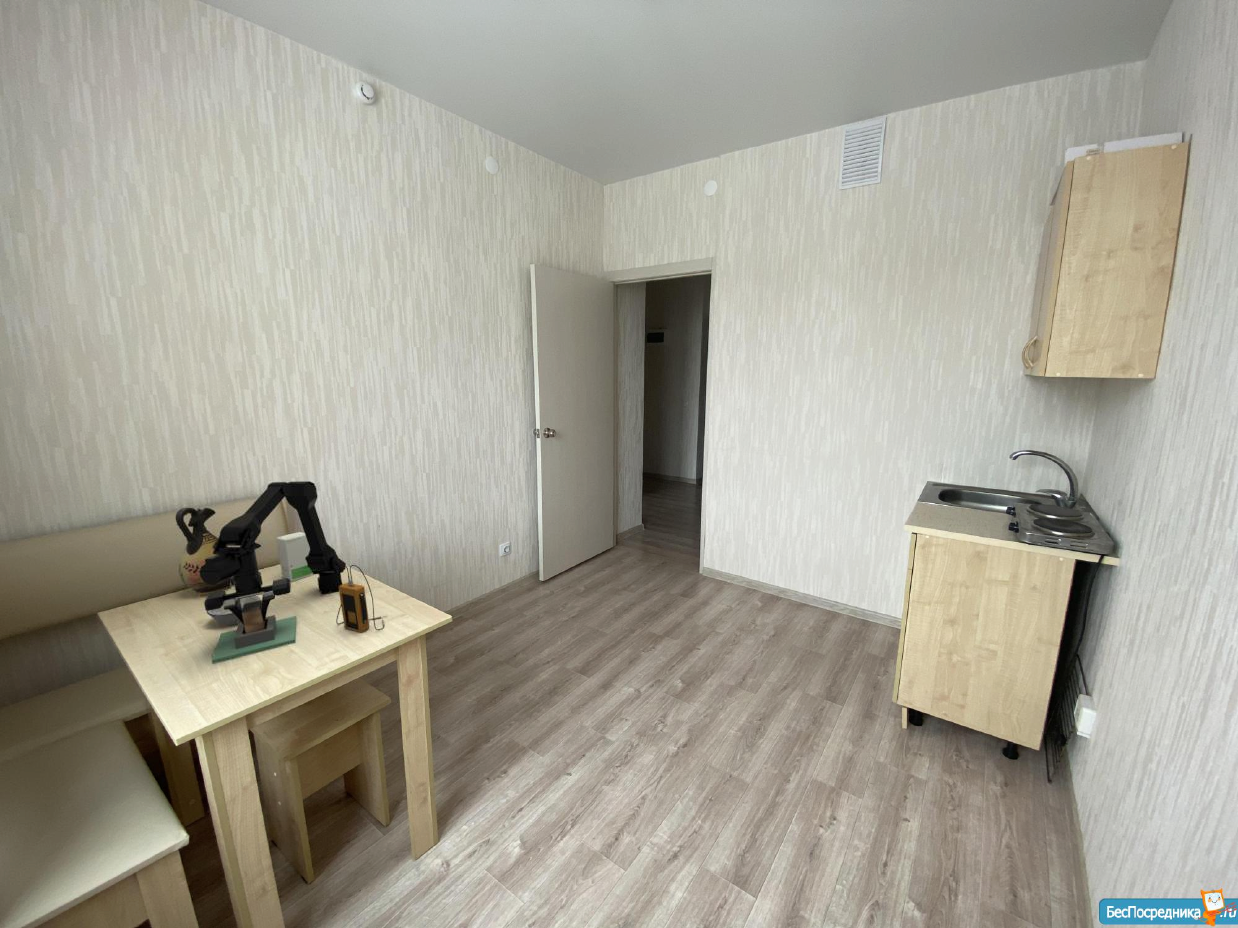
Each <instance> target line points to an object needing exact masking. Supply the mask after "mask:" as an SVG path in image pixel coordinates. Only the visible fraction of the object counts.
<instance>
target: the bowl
mask: <svg viewBox="0 0 1238 928" xmlns="http://www.w3.org/2000/svg"><path fill="white" fill-rule="evenodd" d="M259 600H261V601H262V598H261V597H259V595H256V596H251V597H246V598H242V599H240V603H241V607H242V609H243V605H244V604H245V603H250V602H255V601H259ZM206 614H207V615H209V616H210V617H211V618H212V619H213V620H214V621H216V622H217V623H219V624H220V625H222V626H230V625H231V626H232V625H237V624H238V623H241V621H240V620H239V619H238V618H237V616H236V615H235V614H233V613H232V612H231V611H230V610H224V604H223V606H222V607H221V608H219V609H214V610H209V611H206Z"/></svg>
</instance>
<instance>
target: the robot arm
mask: <svg viewBox="0 0 1238 928" xmlns="http://www.w3.org/2000/svg"><path fill="white" fill-rule="evenodd" d="M284 498H285V499H286V501H287V503H288V504H289V506H291V507H292V508H294V509H295V510H296V512H297V515H298V519H299V521H300V525H301V527H302V530H303V533H305V536H306V539H307V542H308V544H309V547H310V551H309V554H308V556H306V557H305V560H306V561H307V565H308V567H309V568H310V569H311V571H312V573H313V574H314V575H318V577H317V585H318V591H319V592H320V594H321V595H326V594H331V593H335V592H336V593H337V592H339V586H340V584H341V585H343V584H344V583H343V582H342V581H343V580H342V573H344V571H345V570H346V569H347V568H346V567H345V566H344V565H343V564H345V565H346V564H347V563H346V562H345V561H344V560H342V559H341V558H339V556H338V554H337V551H336V549H334V548H333V547H332V546H331V545H329V544H328V542H327V540H326V539H327V538H326V537H325V533H324V530H323V527H322V525H321V521H320V517H319V515H318V512H317V509H316V502H317V500H318V492H317V485H316V484H315V483H314V482H312V481H309V480H308V481H306V480H305V481H303V480H302V481H301V480H300V481H298V480H297V481H288V482H286V481H273V482H270V483H268V485H267V488H266V489H265V490H264V492H262V494H261V495H260V496H259V497H257V499H256V500H255V501H254V502H253V504H252V505H251V506H250V507H248V509H247V510H246V511H245V512H244V513H243V514H242V515H240V516H237V517H236V518H233V519H232V520H230V521H229V522H227V524H225V525H224V526H223V527H222V528H221V529H220V531H219V536H218V537H217V538H218V541H217V543H216V546H215V548H214V551H213V554H218V555H215V556H213V557H209V558H206V559H205V564H204V565H203V566H202V567H201V569H200V572H199V573H200V577H201V579H202V580H203V581H204V582H205V583H207V584H209V585H216V584H218V583H220V582H222V581H224V580H226V579H228V578H230V582H231V583H230V585H231V586H234V589H235V590H234V591H235V592H231V593H227V592H226V590H223V591H220V592H215V593H210V594H207V596H206V598H204V599H205V600H204V603H203V604H204V609H205V611H206V612H207V611H209V610H214V609H219V608H221V607H222V606H223V604H224V610H230V611H231V612H232V613H233V614H235V615H236V616H237V618H238V619H239V620H240V621H241V622H242V624H243V625H244V621H243V616H242V607H241V603H240V599H242V598H246V597H251V596H259V595H262V597H261V601H262V617H263V621H265V618H266V617H267V614H268V613H267V612H268V608H269V605H270V603H271V601H273V600H275V599H276V597H278V596H283V595H289V594H290V593H291V589H292V585H291V584H292V583H291V582H290V579H288V578H284V579H283V578H280V579H276V580H275V579H274V580H273V581H272V583H271V584H270V585H265V586H263V583H264V582H263V577H262V574H261V573H262V572H260V571H259V566H258V564H259V563H258V559H257V555H256V554H257V553H256V550H257V549H259V548H261V547H262V545H261V544H259V543H257V542H256V541H257V539H258V538H259V535H260V534H261V532H262V525H263V523H264V522H265V520H266V519H267V518H268V517H269V516H270V514H271V513H273V511H275V509H276V508H277V507H278V505H279V504H280V503H281V502H282V501H283V500H284ZM226 546H228V547H226ZM341 562H342V563H343V564H342V563H341ZM340 563H341V565H340V567H339V564H340ZM346 566H347V565H346ZM338 567H339V571H338ZM337 572H338V576H339V581H340V584H339V581H338V576H337ZM241 622H240V623H241Z"/></svg>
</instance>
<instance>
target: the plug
mask: <svg viewBox="0 0 1238 928" xmlns="http://www.w3.org/2000/svg"><path fill="white" fill-rule="evenodd" d="M242 616H243V621H244V626H245V632H246V634H247V633H251V632H255V631H259V630H263V629H265V621H263V617H262V599H261V600H259V601H255V602H250V603H245V604H244V605H243V609H242Z"/></svg>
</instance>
